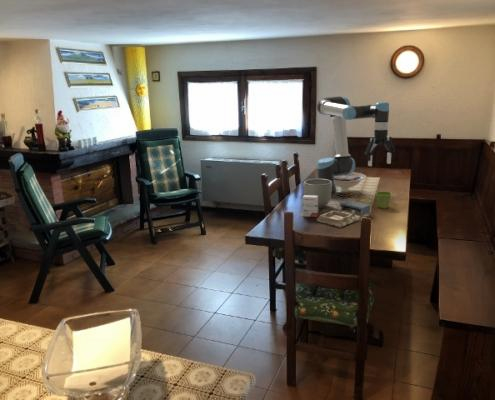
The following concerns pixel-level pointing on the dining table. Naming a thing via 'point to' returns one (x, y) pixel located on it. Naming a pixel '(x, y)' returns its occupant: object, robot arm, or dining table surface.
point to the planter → (319, 190)
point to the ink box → (310, 205)
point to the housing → (355, 206)
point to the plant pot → (383, 199)
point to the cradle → (341, 217)
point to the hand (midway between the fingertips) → (379, 164)
